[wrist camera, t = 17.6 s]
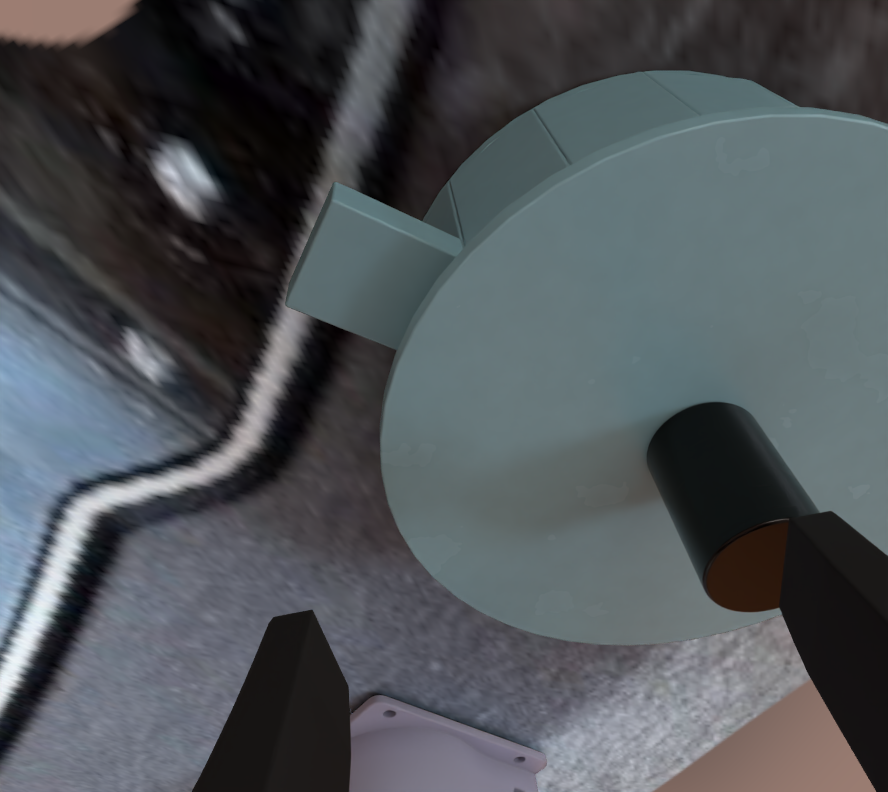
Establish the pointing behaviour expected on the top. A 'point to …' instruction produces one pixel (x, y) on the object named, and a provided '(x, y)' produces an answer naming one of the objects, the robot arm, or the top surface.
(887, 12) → the top surface
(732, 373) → the lid
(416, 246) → the pot
